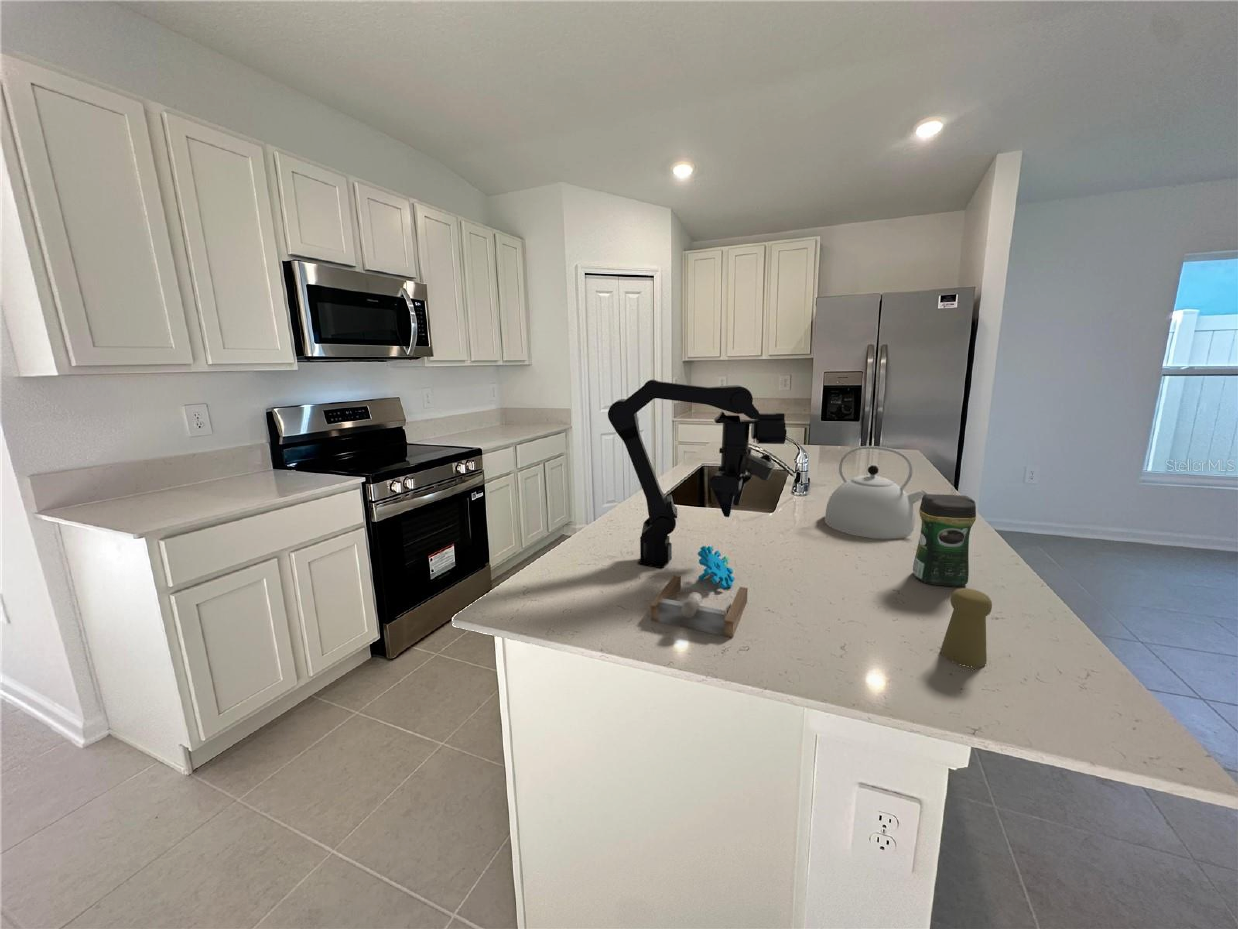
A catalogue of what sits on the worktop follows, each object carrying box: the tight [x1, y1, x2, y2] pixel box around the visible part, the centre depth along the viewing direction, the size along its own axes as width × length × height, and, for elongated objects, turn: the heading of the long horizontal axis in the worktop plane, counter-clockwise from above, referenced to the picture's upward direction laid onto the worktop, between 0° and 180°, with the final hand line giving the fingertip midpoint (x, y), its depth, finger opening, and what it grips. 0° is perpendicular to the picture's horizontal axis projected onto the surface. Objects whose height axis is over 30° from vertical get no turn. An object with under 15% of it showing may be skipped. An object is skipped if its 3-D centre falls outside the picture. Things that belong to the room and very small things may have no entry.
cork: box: [940, 587, 993, 668], centre depth 76 cm, size 6×6×11 cm
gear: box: [697, 545, 736, 589], centre depth 104 cm, size 11×6×10 cm
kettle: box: [824, 445, 929, 540], centre depth 134 cm, size 25×23×22 cm
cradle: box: [650, 574, 749, 638], centre depth 91 cm, size 15×15×6 cm
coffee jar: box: [912, 493, 977, 587], centre depth 101 cm, size 10×8×19 cm
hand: (731, 511), depth 110 cm, fingers open, 9 cm apart
